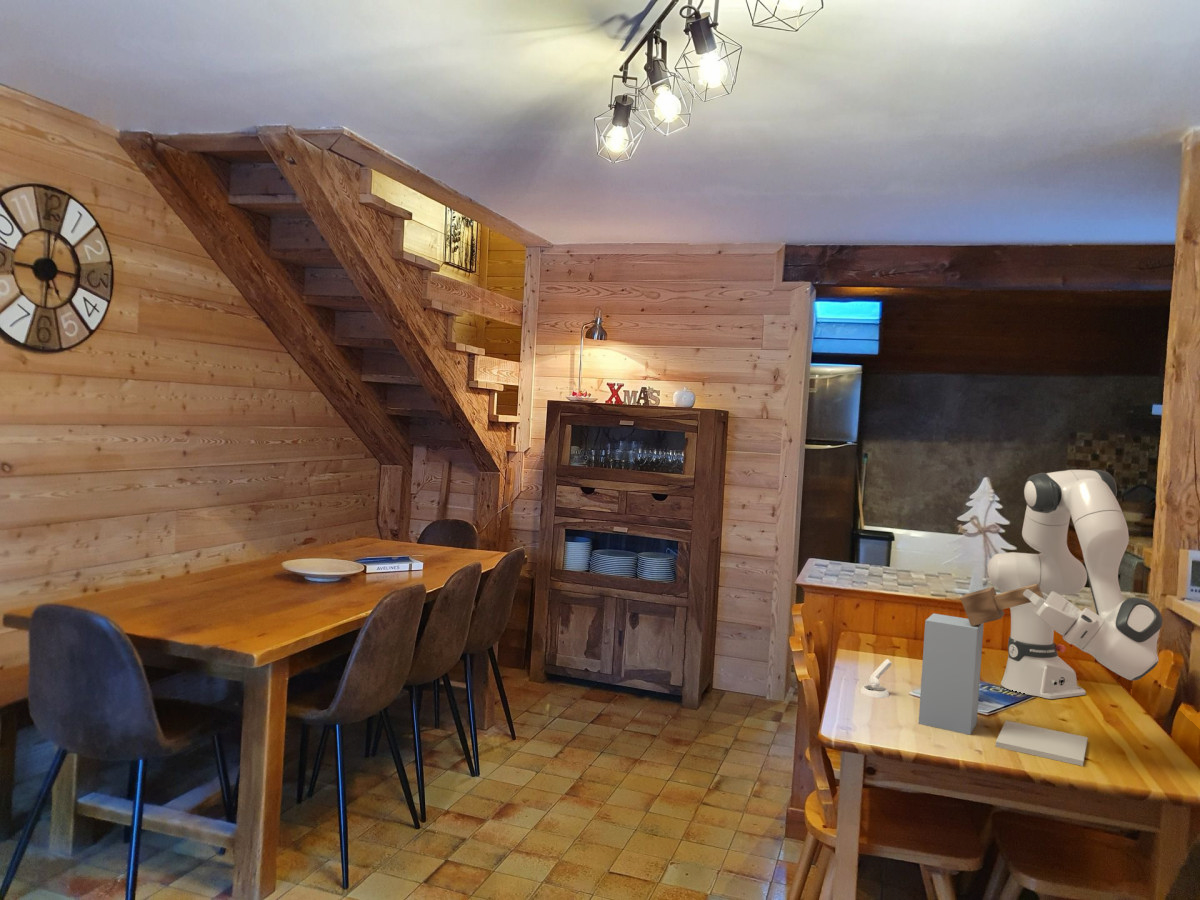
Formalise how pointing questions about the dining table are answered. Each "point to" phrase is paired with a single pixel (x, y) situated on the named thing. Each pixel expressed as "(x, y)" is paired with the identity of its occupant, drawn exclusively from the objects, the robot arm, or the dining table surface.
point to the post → (950, 673)
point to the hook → (877, 682)
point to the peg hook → (994, 603)
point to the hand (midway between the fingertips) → (1025, 589)
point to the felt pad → (1043, 742)
